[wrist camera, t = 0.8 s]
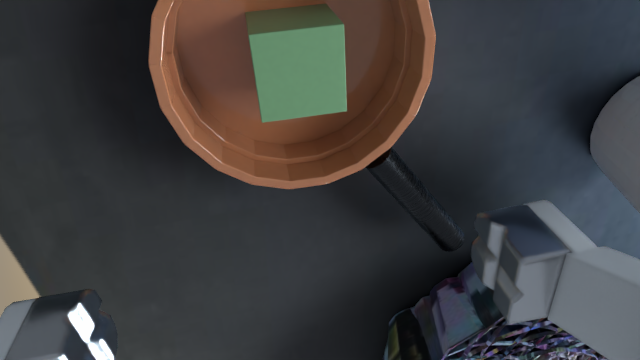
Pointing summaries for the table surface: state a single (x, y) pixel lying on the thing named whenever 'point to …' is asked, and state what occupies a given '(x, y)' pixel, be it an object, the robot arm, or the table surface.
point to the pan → (298, 133)
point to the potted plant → (620, 141)
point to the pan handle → (416, 200)
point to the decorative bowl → (475, 329)
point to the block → (298, 61)
